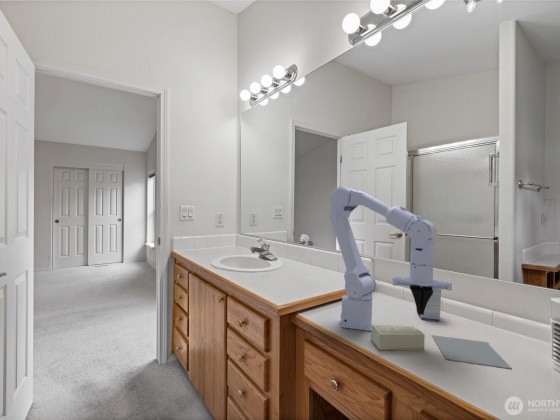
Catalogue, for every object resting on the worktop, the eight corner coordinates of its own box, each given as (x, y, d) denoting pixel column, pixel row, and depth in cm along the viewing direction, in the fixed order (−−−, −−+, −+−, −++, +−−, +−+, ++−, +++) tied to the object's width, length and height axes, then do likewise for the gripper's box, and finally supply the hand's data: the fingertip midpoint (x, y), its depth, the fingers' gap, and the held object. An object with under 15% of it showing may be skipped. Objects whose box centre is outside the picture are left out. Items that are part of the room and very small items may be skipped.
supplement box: (440, 321, 97) (441, 287, 96) (421, 319, 98) (422, 285, 98) (435, 315, 102) (436, 282, 102) (417, 313, 103) (418, 281, 103)
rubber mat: (445, 359, 72) (445, 358, 72) (431, 335, 85) (431, 335, 85) (512, 369, 68) (512, 368, 68) (486, 342, 82) (486, 342, 82)
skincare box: (413, 340, 82) (370, 340, 82) (413, 324, 82) (371, 324, 82) (425, 351, 76) (379, 351, 75) (425, 334, 76) (379, 334, 75)
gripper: (395, 264, 78) (393, 315, 78) (455, 269, 74) (454, 322, 74) (392, 260, 84) (390, 306, 84) (447, 264, 81) (446, 312, 81)
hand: (420, 313), depth 80 cm, fingers closed
